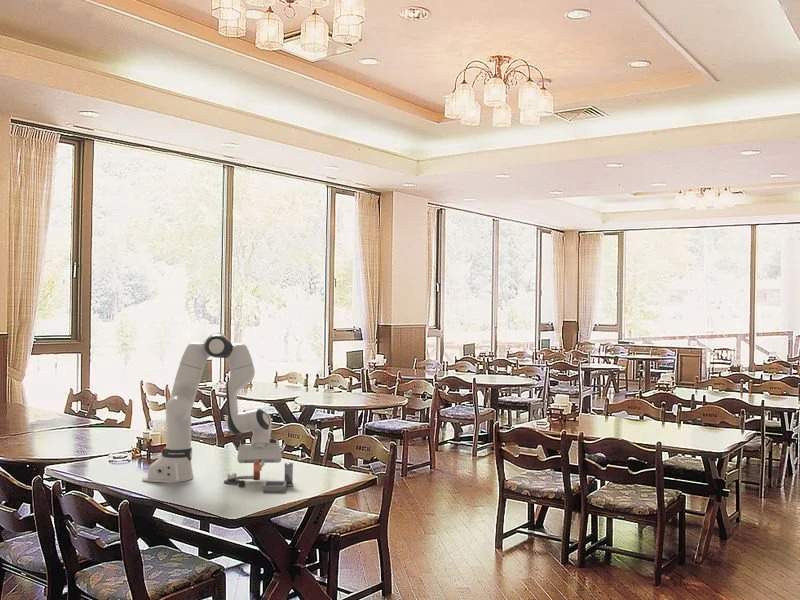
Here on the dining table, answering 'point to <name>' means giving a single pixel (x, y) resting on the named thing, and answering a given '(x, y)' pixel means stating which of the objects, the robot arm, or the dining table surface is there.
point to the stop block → (241, 483)
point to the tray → (275, 486)
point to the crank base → (231, 482)
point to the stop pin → (289, 474)
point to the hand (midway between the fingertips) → (258, 470)
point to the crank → (255, 476)
